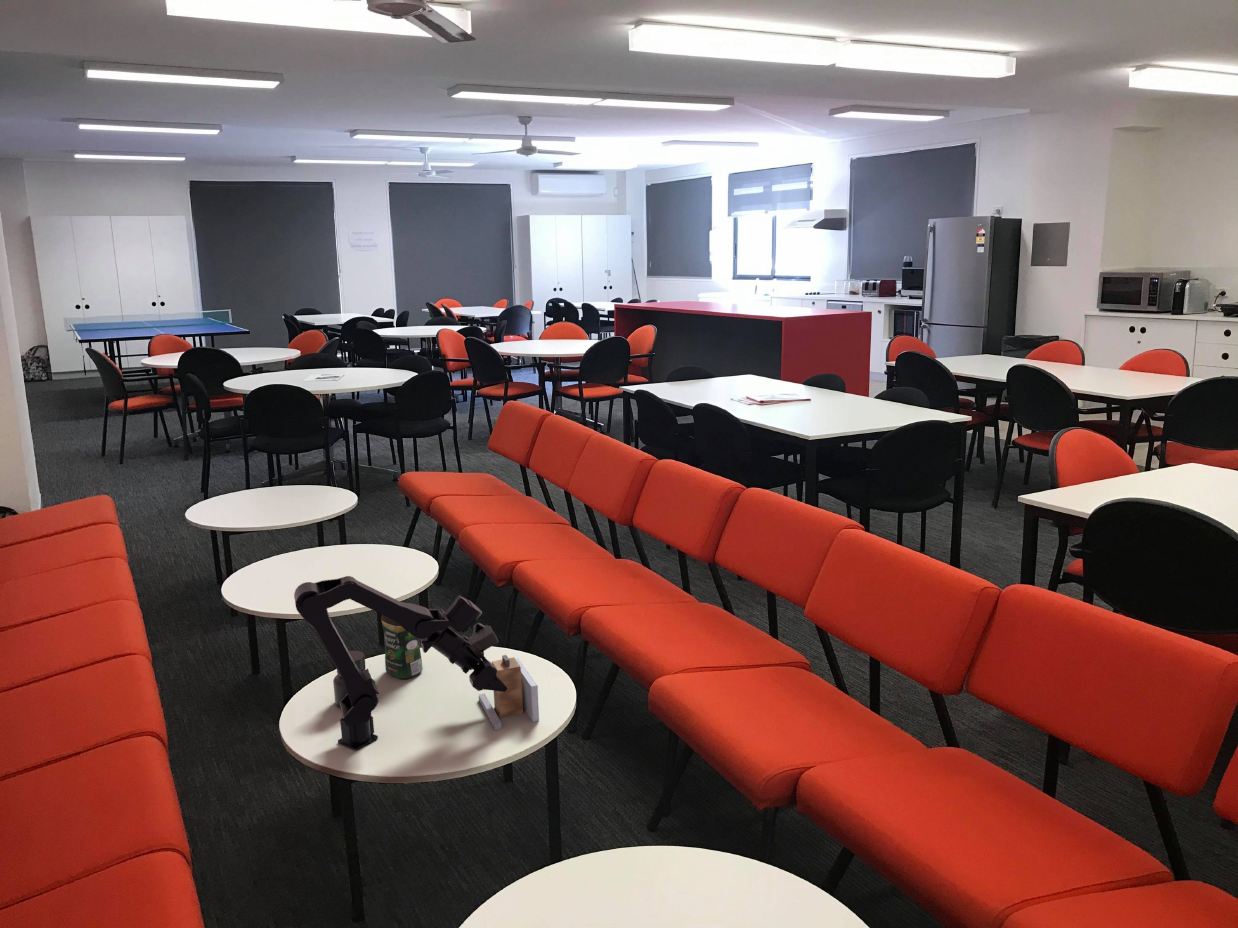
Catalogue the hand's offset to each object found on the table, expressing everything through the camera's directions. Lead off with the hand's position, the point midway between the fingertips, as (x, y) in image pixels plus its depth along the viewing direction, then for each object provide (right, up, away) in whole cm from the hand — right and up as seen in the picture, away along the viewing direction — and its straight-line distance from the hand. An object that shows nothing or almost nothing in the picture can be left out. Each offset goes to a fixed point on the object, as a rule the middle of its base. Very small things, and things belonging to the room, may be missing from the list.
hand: (501, 681), depth 221 cm
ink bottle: (-37, -7, +8) cm, 39 cm away
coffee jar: (-28, -3, +24) cm, 37 cm away
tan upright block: (+1, -7, +2) cm, 8 cm away
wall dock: (+1, -7, +2) cm, 8 cm away
